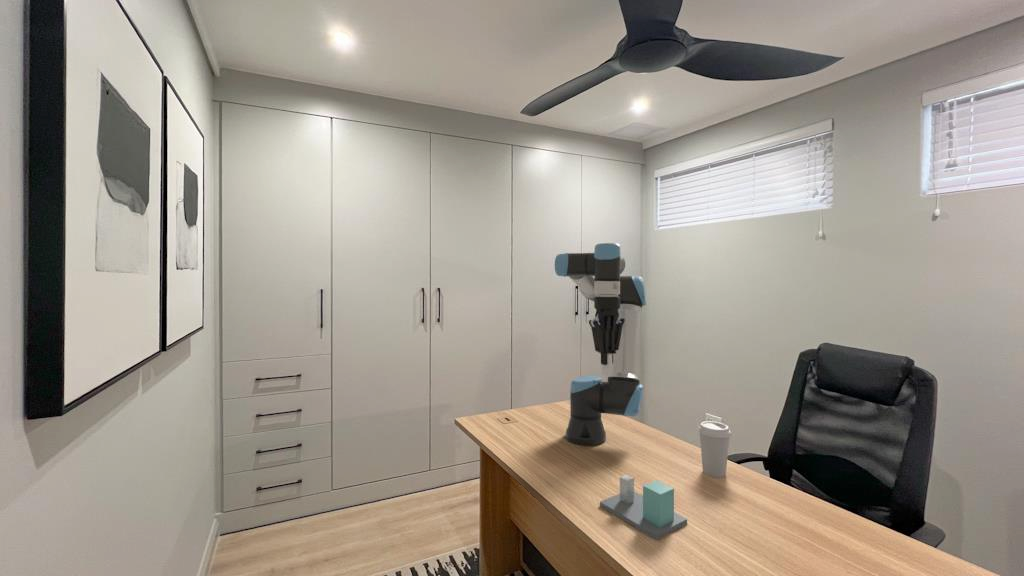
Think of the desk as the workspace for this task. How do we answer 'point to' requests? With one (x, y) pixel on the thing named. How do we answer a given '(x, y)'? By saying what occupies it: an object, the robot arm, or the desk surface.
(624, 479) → the post
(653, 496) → the tall teal pillar
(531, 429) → the desk surface
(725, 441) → the coffee cup
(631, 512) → the slate board
